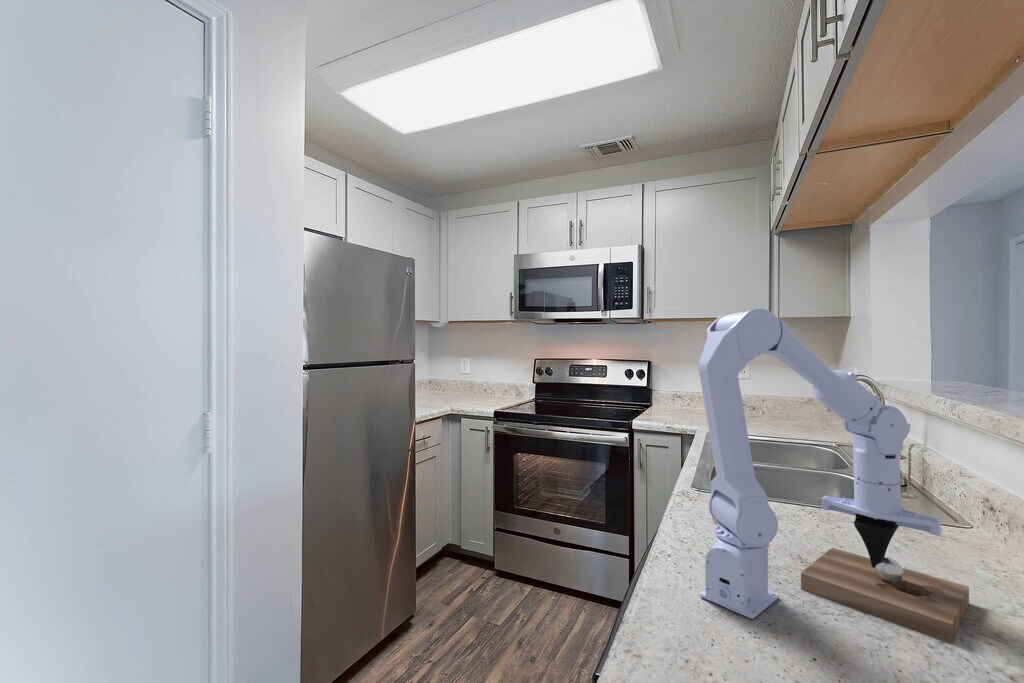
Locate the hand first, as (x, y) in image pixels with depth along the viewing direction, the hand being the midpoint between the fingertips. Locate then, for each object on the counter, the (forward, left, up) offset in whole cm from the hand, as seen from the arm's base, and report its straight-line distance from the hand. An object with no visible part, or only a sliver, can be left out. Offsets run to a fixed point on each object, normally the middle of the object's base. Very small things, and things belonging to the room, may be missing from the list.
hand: (878, 566), depth 71 cm
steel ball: (0, -1, 0) cm, 1 cm away
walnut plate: (-1, -1, -4) cm, 4 cm away
